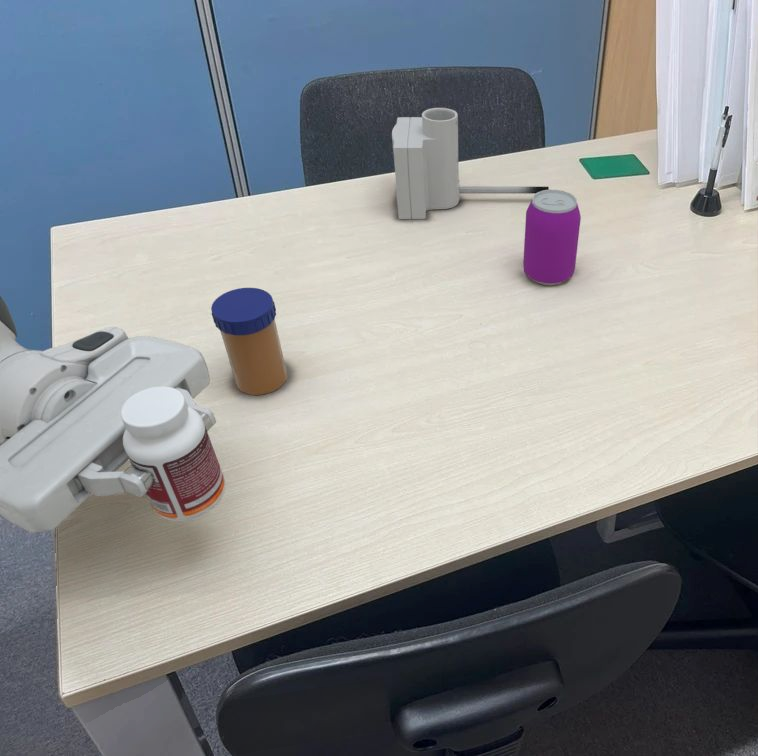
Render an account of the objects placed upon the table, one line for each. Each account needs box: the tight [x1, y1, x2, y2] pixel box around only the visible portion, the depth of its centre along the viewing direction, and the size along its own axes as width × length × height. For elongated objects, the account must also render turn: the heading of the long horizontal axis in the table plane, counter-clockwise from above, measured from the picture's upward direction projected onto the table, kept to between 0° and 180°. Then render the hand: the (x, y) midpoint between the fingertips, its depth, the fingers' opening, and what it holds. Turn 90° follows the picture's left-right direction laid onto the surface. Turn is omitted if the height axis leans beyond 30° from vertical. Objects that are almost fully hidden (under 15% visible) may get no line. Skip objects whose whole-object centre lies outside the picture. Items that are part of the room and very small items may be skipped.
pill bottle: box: [121, 386, 226, 522], centre depth 59 cm, size 6×6×11 cm
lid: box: [210, 287, 277, 335], centre depth 79 cm, size 7×7×2 cm
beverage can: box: [522, 189, 582, 286], centre depth 101 cm, size 8×8×12 cm
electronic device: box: [391, 107, 550, 220], centre depth 116 cm, size 12×26×15 cm, turn 93°
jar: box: [219, 319, 288, 396], centre depth 82 cm, size 6×6×11 cm
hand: (180, 452), depth 58 cm, fingers closed on pill bottle, 6 cm apart
